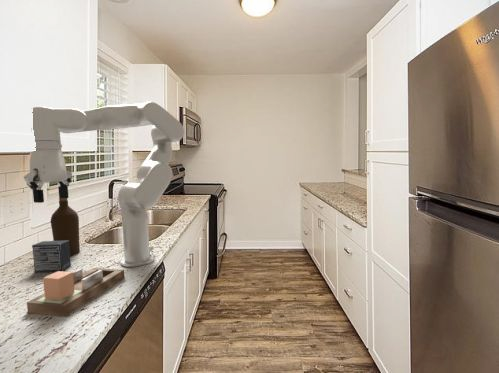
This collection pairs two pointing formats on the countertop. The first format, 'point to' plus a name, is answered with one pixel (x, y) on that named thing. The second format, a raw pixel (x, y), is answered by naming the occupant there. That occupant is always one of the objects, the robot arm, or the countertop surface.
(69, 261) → the small box
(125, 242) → the robot arm
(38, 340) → the countertop surface
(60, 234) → the olive oil
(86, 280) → the track
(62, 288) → the block
